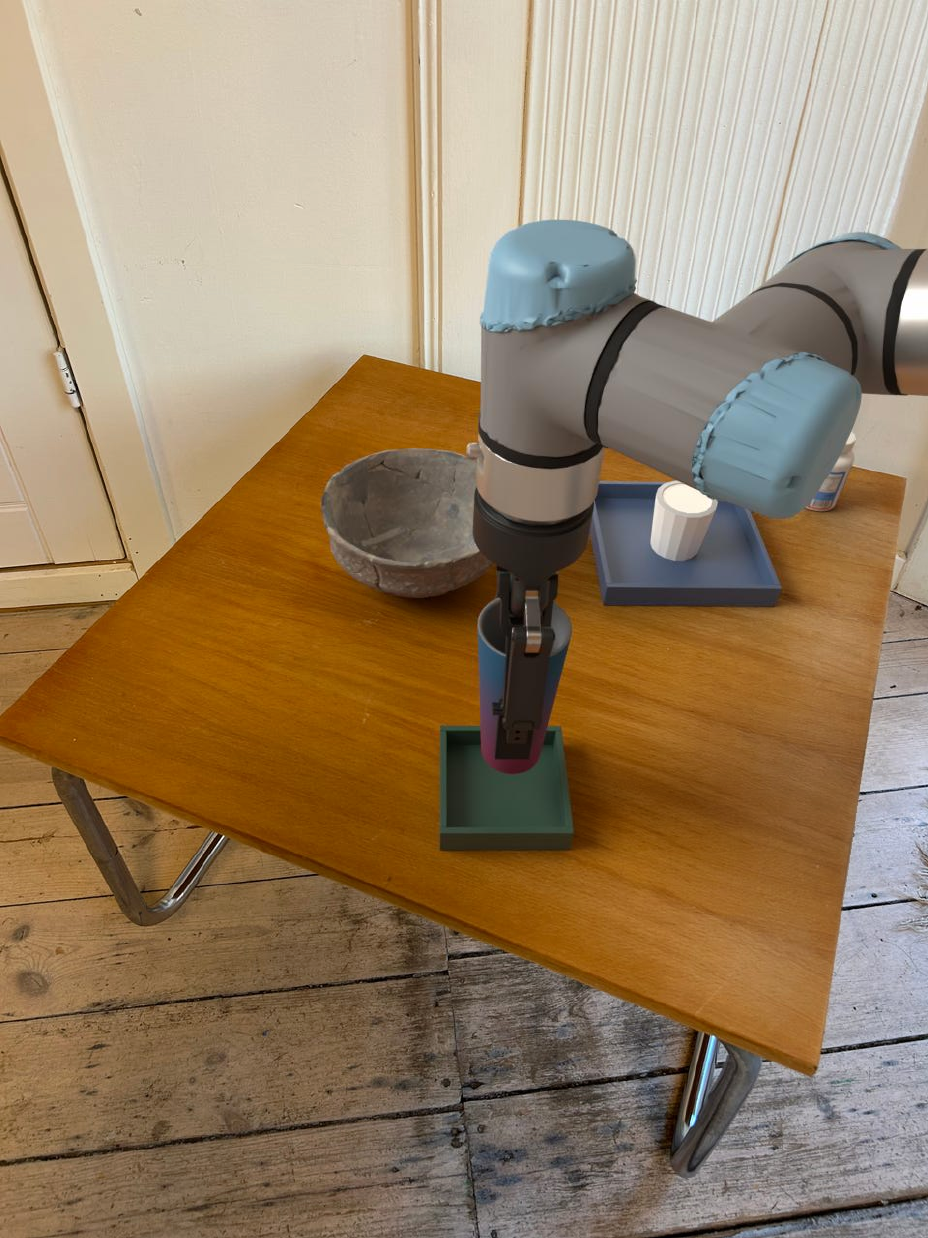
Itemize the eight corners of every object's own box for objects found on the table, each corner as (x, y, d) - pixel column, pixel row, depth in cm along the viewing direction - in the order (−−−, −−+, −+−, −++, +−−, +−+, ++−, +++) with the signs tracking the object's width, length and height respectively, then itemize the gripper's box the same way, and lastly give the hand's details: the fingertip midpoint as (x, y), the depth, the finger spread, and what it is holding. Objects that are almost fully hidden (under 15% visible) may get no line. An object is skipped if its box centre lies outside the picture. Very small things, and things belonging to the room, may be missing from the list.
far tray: (775, 606, 95) (782, 588, 93) (603, 605, 95) (606, 586, 93) (733, 500, 109) (739, 482, 107) (583, 498, 108) (585, 480, 106)
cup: (564, 739, 73) (587, 615, 63) (527, 797, 69) (545, 674, 59) (495, 705, 76) (506, 580, 65) (455, 760, 72) (460, 636, 61)
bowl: (536, 543, 102) (544, 474, 95) (463, 659, 89) (466, 589, 81) (382, 495, 108) (379, 426, 100) (291, 597, 94) (280, 526, 87)
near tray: (570, 850, 74) (574, 833, 72) (439, 850, 73) (439, 833, 71) (558, 743, 81) (561, 725, 79) (439, 743, 81) (439, 725, 79)
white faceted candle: (704, 568, 99) (719, 520, 94) (644, 560, 99) (656, 512, 94) (702, 530, 104) (716, 483, 99) (645, 523, 104) (656, 476, 99)
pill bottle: (808, 481, 112) (833, 416, 105) (844, 501, 109) (872, 436, 103) (783, 497, 110) (807, 431, 103) (819, 518, 107) (846, 452, 100)
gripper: (470, 407, 60) (461, 636, 76) (479, 596, 47) (465, 824, 63) (578, 409, 60) (545, 636, 77) (616, 598, 47) (567, 824, 63)
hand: (509, 721), depth 70 cm, fingers closed on cup, 6 cm apart
